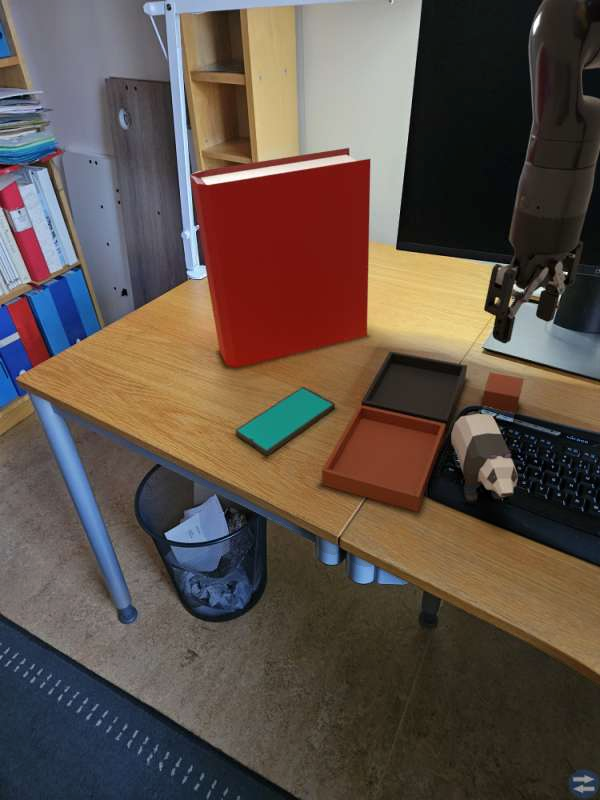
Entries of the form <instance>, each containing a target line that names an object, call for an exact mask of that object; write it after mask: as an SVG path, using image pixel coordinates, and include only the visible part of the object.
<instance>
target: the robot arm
mask: <svg viewBox="0 0 600 800" xmlns="http://www.w3.org/2000/svg"><path fill="white" fill-rule="evenodd" d="M528 63H529V75H530V92H531V93H530V94H531V107H532V124H531V129H530V133H529V139H528V144H527V149H526V155H525V160H524V165H523V168H522V171H521V174H520V177H519V181H518V184H517V185H518V186H517V192H516V196H515V197H516V198H515V202H514V207H513V213H512V218H511V223H510V224H511V225H510V229H509V235H508V240H509V242H510V244H511V246H512V247H513V249H514V254H513V257H512V260H511V261H510V264H507V265H501V264H499V263H496V264H495V265H493V267H492V270H491V274H490V279H489V283H488V288H487V293H486V298H485V302H484V307H483V310H484V312H486V313H488V314H490V315H492V316H494V322H493V329H492V332H491V333H492V338H493V339H494V340H496V341H498V342H500V343H502V344H504V345H505V344H507V343H509V342H511V340H512V335H513V330H514V325H515V322H516V321H515V320H516V314H517V313H518V311H519V310H520V308H521V306H522V305H523V304H525V303H528V302H529V301H530V299H531V297H532V296H533V294H534V292H536V291H537V290H539V289H540V288H542V289H543V290H541V291H540V294H539V299H538V302H537V303H538V304H537V307H536V311H535V316H536V318H538V319H539V320H542V321H544V322H546V323H549V322H551V321H552V320H554V318H555V315H556V311H557V306H558V303H559V299H560V296H561V295H563V294H564V293H565V291H566V287H567V286H568V287H572V286H573V285H574V284H575V281H576V277H577V273H578V269H579V265H580V260H581V256H582V251H583V248H584V242H583V241H581V240H580V237H581V233H582V230H583V226H584V223H585V219H586V214H587V212H588V211H587V210H588V208H589V203H590V200H591V196H592V191H593V187H594V181H595V173H596V166H597V162H598V158H599V155H600V98H598V97H596V96H595V97H594V96H591V95H584V92H583V91H584V90H583V80H582V79H583V71H584V70H585V71H586V70H593V69H594V70H595V69H600V0H542V2H541V4H540V5H539V7H538V9H537V12H536V13H535V15H534V18H533V20H532V24H531V27H530V30H529V38H528ZM564 268H566V269H567V274H566V273H564ZM514 286H516V288H519V289H520V290H523V291H518V290H516V289H514ZM496 298H497V300H496ZM511 298H513V299H514V300H513V302H512V303H511ZM510 303H511V305H510Z"/></svg>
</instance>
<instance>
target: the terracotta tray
mask: <svg viewBox="0 0 600 800" xmlns="http://www.w3.org/2000/svg"><path fill="white" fill-rule="evenodd" d="M445 427H446V424H444V423H439V422H435V421H430V420H426V419H421V418H417V417H412V416H408V415H403V414H399V413H394V412H390V411H385V410H381V409H376V408H372V407H367V406H363V405H361V404H359V405H358V406H357V408H356V410H355V411H354V413H353V415H352V417H351V418H350V420H349V422H348V424H347V426H346V427H345V429H344V431H343V433H341V436H340V438H339V440H338V442H337V443H336V445H335V447H334V448H333V450H332V452H331V454H330V455H329V457H328V459H327V460H326V462H325V464H324V466H323V468H322V469H321V481H322V483H321V484H322V486H324V487H328V488H332V489H335V490H338V491H343V492H345V493H350V494H354V495H357V496H361V497H364V498H367V499H371V500H374V501H378V502H382V503H385V504H388V505H392V506H395V507H399V508H403V509H407V510H410V511H414V512H419V509H420V506H421V504H422V501H423V498H424V495H425V493H426V489H427V487H428V485H429V481H430V479H431V475H432V473H433V470H434V467H435V464H436V462H437V459H438V456H439V453H440V450H441V448H442V445H443V442H444V439H445V435H446V434H445ZM444 434H445V435H444Z"/></svg>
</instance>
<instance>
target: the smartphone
mask: <svg viewBox="0 0 600 800" xmlns="http://www.w3.org/2000/svg"><path fill="white" fill-rule="evenodd" d="M335 408H336V403H335V402H333V401H332V400H330V399H328V398H326V397H324V396H323V395H321V394H318V393H317V392H315V391H313V390H311V389H310V388H307V387H305V386H301V387H300V388H298V389H297V390H295V391H293V392H292V393H290V394H289V395H288V396H286V397H284V398H282V399H281V400H280V401H278V402H276V403H275V404H274V405H272V406H270V407H269V408H267V409H266V410H264V411H262V412H261V413H260V414H257V416H254V417H253V418H252V419H250V420H249V421H246V423H244V424H243V425H241V426H239V427H238V428H236V429H235V435H236V436H237V437H238V438H240V439H241V440H243V441H244V442H245V443H247V444H248V445H250V446H251V447H253V448H254V449H256V450H258V451H259V452H260V453H262V454H263V455H265V456H269V455H270V454H272V453H273V452H275V451H277V450H278V449H279V448H281V447H282V446H284V445H285V444H286V443H288V442H290V441H291V440H292V439H293V438H295V437H296V436H297V435H299V434H300V433H302V432H303V431H304V430H306V429H308V428H309V427H311V426H312V425H313V424H314V423H316V422H317V421H319V420H321V419H322V418H323V417H325V416H326V415H327V414H329V413H330V412H332V411H333V410H335Z"/></svg>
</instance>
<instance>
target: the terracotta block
mask: <svg viewBox="0 0 600 800" xmlns="http://www.w3.org/2000/svg"><path fill="white" fill-rule="evenodd" d="M523 383H524V378H523V377H517V376H511V375H507V374H502V373H496V372H489V374H488V375H487V379H486V384H485V387H484V390H483V394H482V400H481V406H487V407H492V408H495V409H499V410H502V411H507V412H512V413H516V414H517V410H518V406H519V402H520V397H521V393H522V388H523ZM481 406H480V407H481Z"/></svg>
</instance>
